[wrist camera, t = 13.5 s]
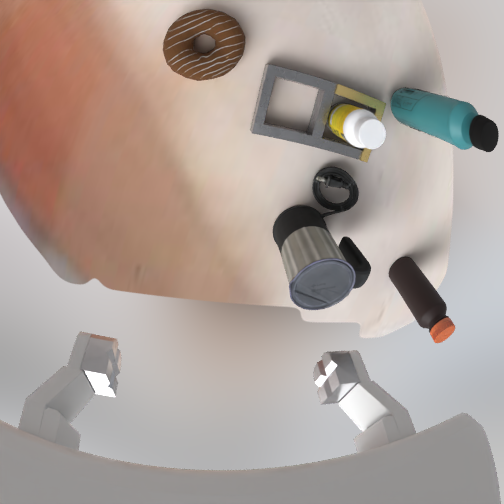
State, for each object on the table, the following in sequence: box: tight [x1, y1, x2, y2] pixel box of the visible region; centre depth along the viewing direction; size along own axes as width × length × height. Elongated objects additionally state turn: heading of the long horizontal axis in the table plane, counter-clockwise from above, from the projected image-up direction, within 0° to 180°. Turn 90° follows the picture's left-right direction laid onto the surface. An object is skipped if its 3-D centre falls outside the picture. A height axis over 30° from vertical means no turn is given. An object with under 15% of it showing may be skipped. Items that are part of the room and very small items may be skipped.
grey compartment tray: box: [250, 64, 386, 162], centre depth 35 cm, size 10×18×3 cm, turn 78°
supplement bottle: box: [327, 103, 386, 149], centre depth 33 cm, size 5×5×10 cm
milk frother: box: [273, 167, 371, 310], centre depth 40 cm, size 14×16×15 cm
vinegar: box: [389, 257, 455, 343], centre depth 48 cm, size 7×7×20 cm
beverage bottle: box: [391, 87, 498, 152], centre depth 27 cm, size 6×7×20 cm
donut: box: [163, 9, 245, 81], centre depth 28 cm, size 11×11×4 cm
